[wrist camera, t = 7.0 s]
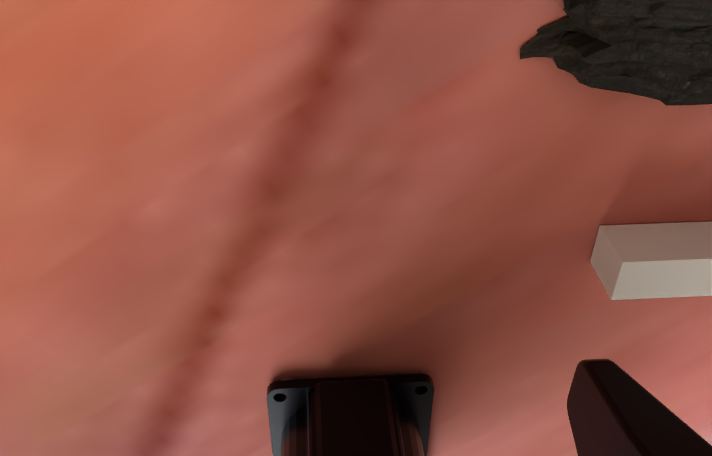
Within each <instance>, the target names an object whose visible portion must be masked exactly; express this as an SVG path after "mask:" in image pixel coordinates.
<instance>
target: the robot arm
mask: <svg viewBox="0 0 712 456" xmlns="http://www.w3.org/2000/svg"><path fill="white" fill-rule="evenodd" d="M419 386H421V387H419ZM278 393H282V394H278ZM433 393H434V387H433V382H432V378H431V377H430V376H428V375H426V374H406V375H386V376H366V377H346V378H326V379H306V380H286V381H276V382H273V383H271V384H270V385H269V386H268V389H267V404H268V413H269V423H270V433H271V442H272V452H273V456H426V455H427V446H428V438H429V429H430V420H431V411H432V402H433ZM567 410H568V416H569V420H570V424H571V428H572V432H573V437H574V441H575V445H576V449H577V453H578V456H712V446H711V445H710V444H709V443H708V442H707V441H705V440H704V439H703V438H702V437H701V436H700V435H698V434H697V433H696V432H695V431H694V430H693V429H691V428H690V427H689V426H688V425H687V424H686V423H684V422H683V421H682V420H681V419H680V418H679V417H677V416H676V415H675V414H674V413H673V412H671V411H670V410H669V409H668V408H667V407H666V406H664V405H663V404H662V403H661V402H660V401H659V400H657V399H656V398H655V397H654V396H653V395H652V394H650V393H649V392H648V391H647V390H646V389H645V388H643V387H642V386H641V385H640V384H639V383H638V382H636V381H635V380H634V379H633V378H632V377H631V376H629V375H628V374H627V373H626V372H625V371H623V370H622V369H621V368H620V367H619V366H618V365H616V364H615V363H614V362H612V361H611V360H608V359H589V360H582V361H580V362H579V364H578V365H577V367H576V371H575V374H574V378H573V381H572V384H571V388H570V391H569V395H568V399H567Z"/></svg>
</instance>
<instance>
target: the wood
mask: <svg viewBox="0 0 712 456" xmlns="http://www.w3.org/2000/svg"><path fill="white" fill-rule="evenodd" d="M563 10H564V11H565V12H566V13H567V15H568V16H569V17H567V18H565V19H562V20H560V21H558V22H555V23H553V24H550V25H548V26H545V27H543V28H540V29H538V30H537V31H538V33H539V35H538V36H536V37H535V38H533V39H532V40H531V41H529V42H528V43H526V44H525V45H523V46H522V47H521V48H520V59H522V58H529V57H553V59H554V61H555V63H556V65H557V67H558V68H560V69H562V70H565V71H567V72H569V73H571V74H573V75H574V76H575V78H576V79H577V80H578V82H579V83H582V84H584V85H587V86H589V87H593V88H599V89H605V90H611V91H618V92H626V93H631V94H636V95H641V96H646V97H650V98H654V99H658V100H660V101H662V102H663V103H664V104H665V105H700V104H712V0H564V9H563ZM568 31H571V32H573V33H568Z"/></svg>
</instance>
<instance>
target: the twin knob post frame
mask: <svg viewBox="0 0 712 456" xmlns="http://www.w3.org/2000/svg"><path fill="white" fill-rule="evenodd" d="M590 263H591V265H592V267H593V269H594V271H595V272H596V274H597V276H598V278H599V279H600V281H601V283H602V285H603V287H604V288H605V290H606V292H607V294H608V296H609V297H610V299H611V300H623V299H646V298H669V297H691V296H712V221H709V222H682V223H655V224H627V225H600V226H599V230H598V234H597V237H596V241H595V245H594V248H593V252H592V256H591V260H590Z"/></svg>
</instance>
